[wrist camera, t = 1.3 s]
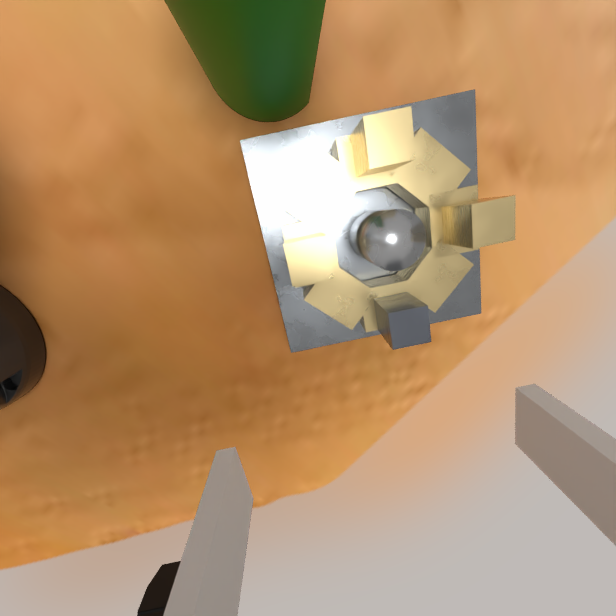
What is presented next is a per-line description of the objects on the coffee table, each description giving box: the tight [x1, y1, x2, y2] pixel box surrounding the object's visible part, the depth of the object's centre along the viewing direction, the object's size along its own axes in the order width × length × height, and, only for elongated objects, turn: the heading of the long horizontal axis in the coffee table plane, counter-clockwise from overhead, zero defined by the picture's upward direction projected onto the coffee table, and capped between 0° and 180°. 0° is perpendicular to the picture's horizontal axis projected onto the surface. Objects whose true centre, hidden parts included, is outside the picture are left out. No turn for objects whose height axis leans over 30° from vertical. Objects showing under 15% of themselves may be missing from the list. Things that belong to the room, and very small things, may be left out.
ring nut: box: [282, 106, 515, 350], centre depth 24 cm, size 16×16×7 cm
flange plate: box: [240, 90, 481, 353], centre depth 25 cm, size 20×20×8 cm
